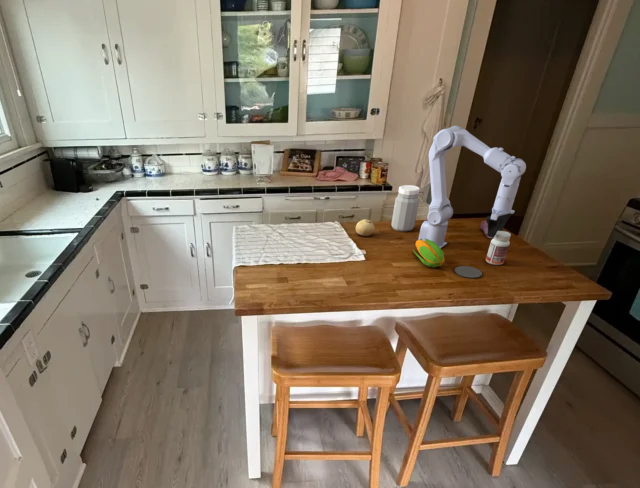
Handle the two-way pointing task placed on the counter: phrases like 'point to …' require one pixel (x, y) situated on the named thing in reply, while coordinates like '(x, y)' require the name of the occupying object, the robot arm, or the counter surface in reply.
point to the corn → (430, 253)
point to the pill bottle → (498, 248)
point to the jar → (405, 208)
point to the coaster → (468, 272)
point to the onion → (365, 227)
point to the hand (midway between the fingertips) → (494, 233)
